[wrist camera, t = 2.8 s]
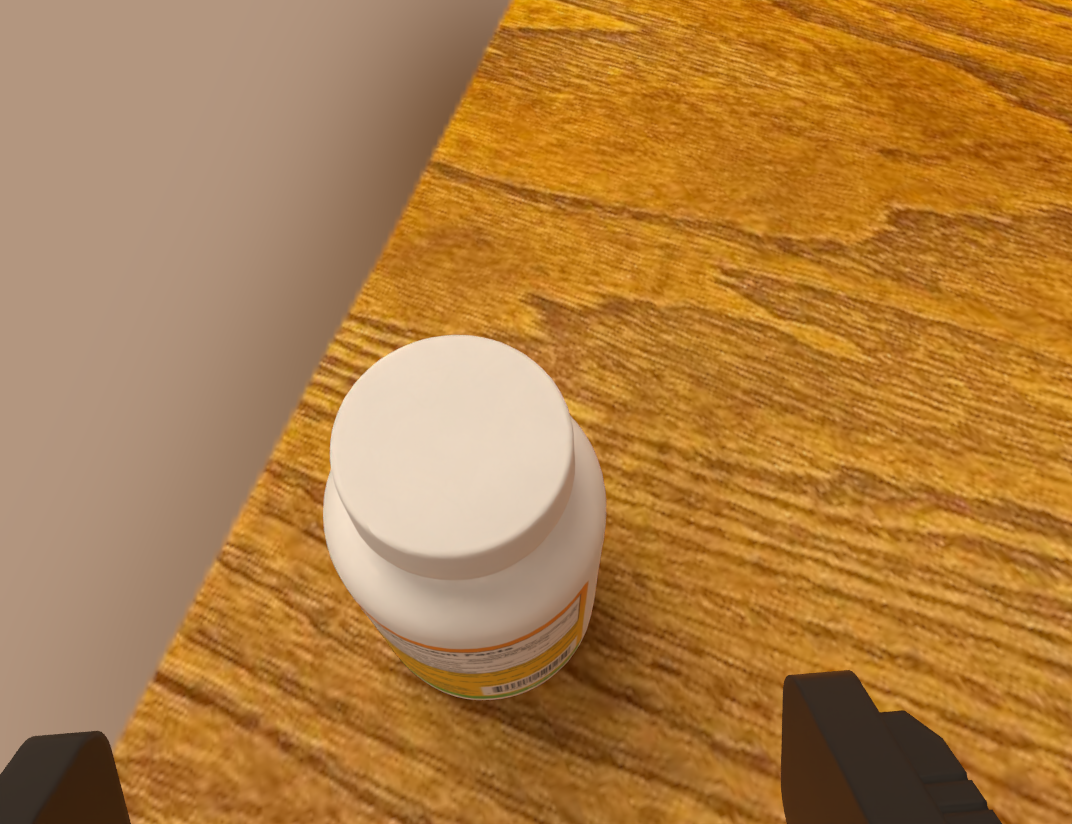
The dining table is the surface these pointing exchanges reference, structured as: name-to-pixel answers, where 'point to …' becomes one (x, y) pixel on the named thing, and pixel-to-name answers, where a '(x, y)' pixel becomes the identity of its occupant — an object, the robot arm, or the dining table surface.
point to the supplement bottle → (466, 514)
